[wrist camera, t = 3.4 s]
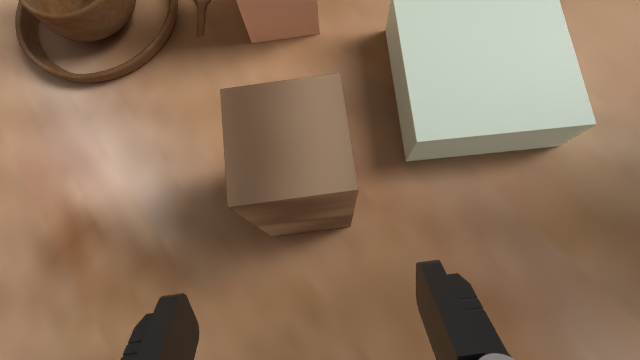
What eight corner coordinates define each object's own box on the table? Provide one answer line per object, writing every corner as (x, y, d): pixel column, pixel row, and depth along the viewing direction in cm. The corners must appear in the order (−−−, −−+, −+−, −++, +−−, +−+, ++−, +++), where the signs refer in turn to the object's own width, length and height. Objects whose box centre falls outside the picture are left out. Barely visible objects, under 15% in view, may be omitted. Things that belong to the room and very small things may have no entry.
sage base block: (522, 18, 28) (551, -24, 24) (556, 147, 25) (596, 123, 21) (384, 33, 28) (392, -7, 24) (404, 163, 25) (416, 142, 21)
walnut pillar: (339, 152, 25) (339, 72, 16) (350, 226, 24) (358, 189, 14) (265, 162, 25) (220, 89, 16) (272, 236, 24) (227, 207, 14)
